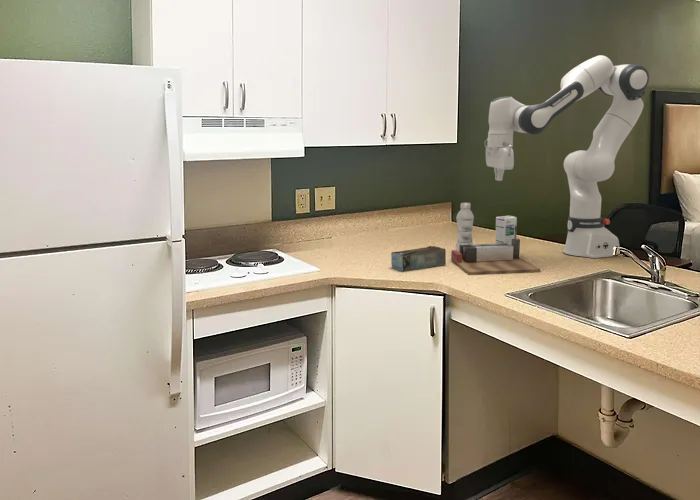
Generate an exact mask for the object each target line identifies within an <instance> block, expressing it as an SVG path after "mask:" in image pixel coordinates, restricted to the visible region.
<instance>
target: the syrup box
mask: <svg viewBox="0 0 700 500" xmlns="http://www.w3.org/2000/svg"><path fill="white" fill-rule="evenodd" d="M517 220H518V219H517V216H515V215H502V216H496V217H495V242H494V244H498V243H507V244H509V245H511V243H512V239H517V225H518V224H517V223H518V221H517Z"/></svg>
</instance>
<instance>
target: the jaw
mask: <svg viewBox="0 0 700 500" xmlns="http://www.w3.org/2000/svg"><path fill="white" fill-rule="evenodd" d="M499 260H513V246H512V245H501V246H477V247H474V246H472V247H463V261H465V262H477V261H499Z"/></svg>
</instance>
